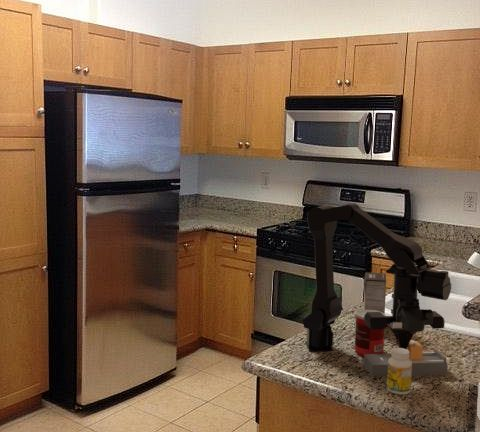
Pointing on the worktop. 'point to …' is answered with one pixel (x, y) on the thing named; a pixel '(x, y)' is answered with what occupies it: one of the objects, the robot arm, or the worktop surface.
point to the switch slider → (415, 350)
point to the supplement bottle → (399, 372)
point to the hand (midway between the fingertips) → (402, 352)
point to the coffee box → (375, 291)
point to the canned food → (367, 336)
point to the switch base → (426, 367)
